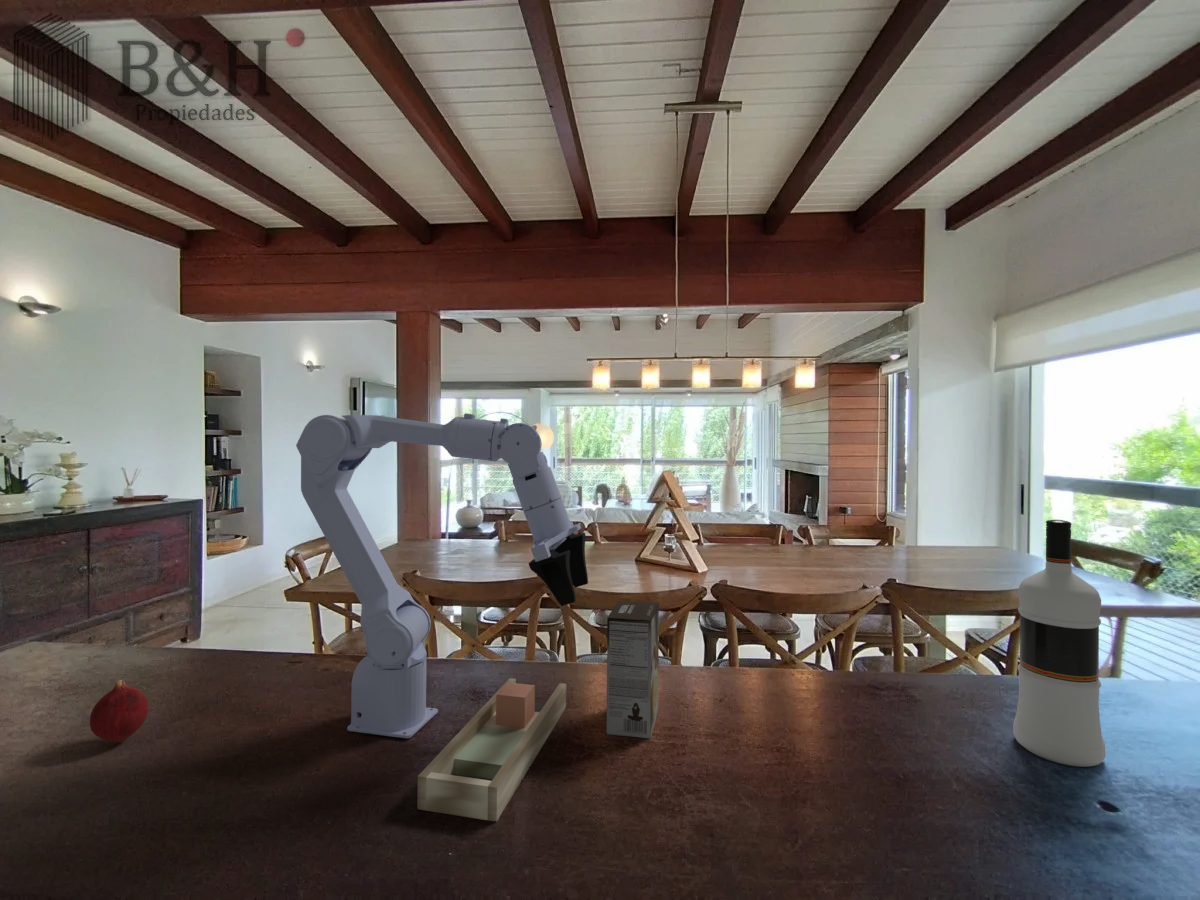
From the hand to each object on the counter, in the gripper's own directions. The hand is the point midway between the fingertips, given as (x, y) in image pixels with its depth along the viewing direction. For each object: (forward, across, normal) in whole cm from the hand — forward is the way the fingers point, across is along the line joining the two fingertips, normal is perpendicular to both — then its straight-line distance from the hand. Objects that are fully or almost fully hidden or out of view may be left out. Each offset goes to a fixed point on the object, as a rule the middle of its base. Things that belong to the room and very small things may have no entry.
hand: (575, 593), depth 79 cm
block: (+12, -7, +12) cm, 18 cm away
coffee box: (+20, 0, -2) cm, 20 cm away
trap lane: (+14, -11, +12) cm, 21 cm away
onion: (-4, -20, +58) cm, 62 cm away
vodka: (+39, +5, -53) cm, 66 cm away
